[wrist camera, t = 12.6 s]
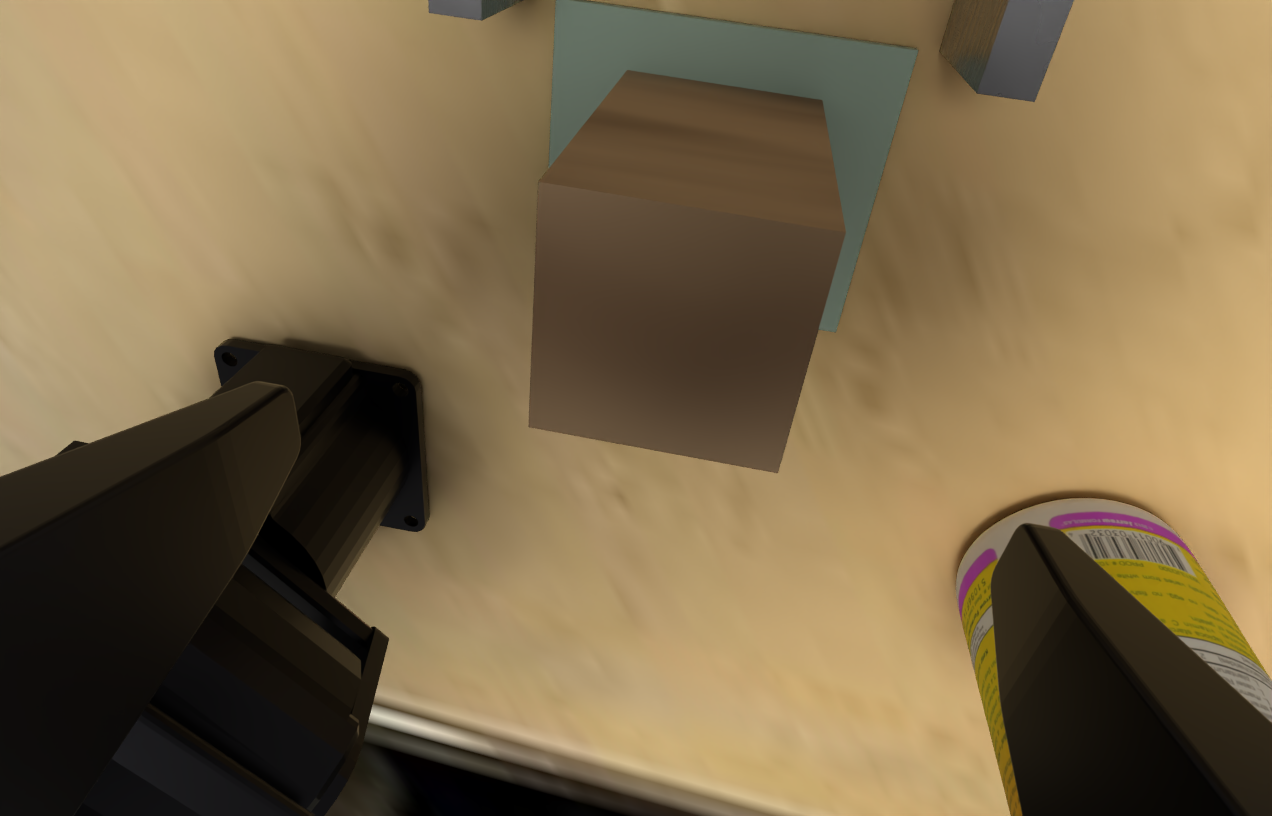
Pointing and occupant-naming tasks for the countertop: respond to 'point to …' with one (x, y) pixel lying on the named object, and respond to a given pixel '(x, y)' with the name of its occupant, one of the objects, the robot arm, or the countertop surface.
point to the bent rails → (973, 42)
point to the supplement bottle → (1142, 565)
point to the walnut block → (684, 269)
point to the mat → (748, 58)
